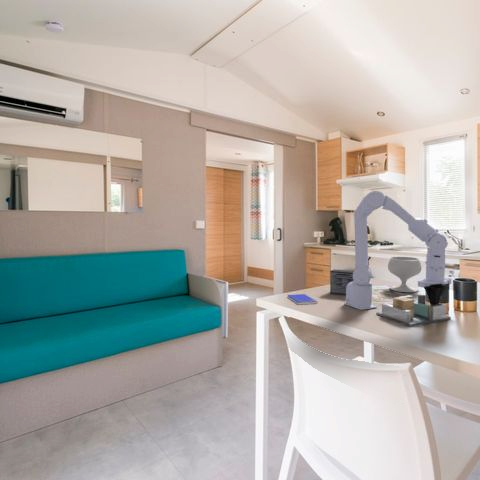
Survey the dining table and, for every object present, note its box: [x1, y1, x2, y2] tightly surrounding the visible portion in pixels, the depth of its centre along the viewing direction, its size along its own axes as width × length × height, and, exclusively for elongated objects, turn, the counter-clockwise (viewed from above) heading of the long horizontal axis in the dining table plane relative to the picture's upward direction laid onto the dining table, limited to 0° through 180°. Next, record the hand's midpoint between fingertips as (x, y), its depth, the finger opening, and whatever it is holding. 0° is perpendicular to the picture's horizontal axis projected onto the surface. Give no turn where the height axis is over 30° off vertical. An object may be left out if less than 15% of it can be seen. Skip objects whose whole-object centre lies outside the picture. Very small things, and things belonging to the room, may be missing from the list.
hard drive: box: [287, 293, 319, 306], centre depth 136 cm, size 2×8×12 cm
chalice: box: [387, 256, 422, 293], centre depth 152 cm, size 14×14×15 cm
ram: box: [414, 294, 429, 317], centre depth 113 cm, size 10×4×6 cm, turn 22°
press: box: [376, 294, 452, 328], centre depth 112 cm, size 14×18×5 cm
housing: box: [392, 296, 415, 318], centre depth 111 cm, size 4×4×6 cm
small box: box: [329, 268, 354, 296], centre depth 147 cm, size 11×6×10 cm, turn 58°
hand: (434, 305), depth 116 cm, fingers closed
